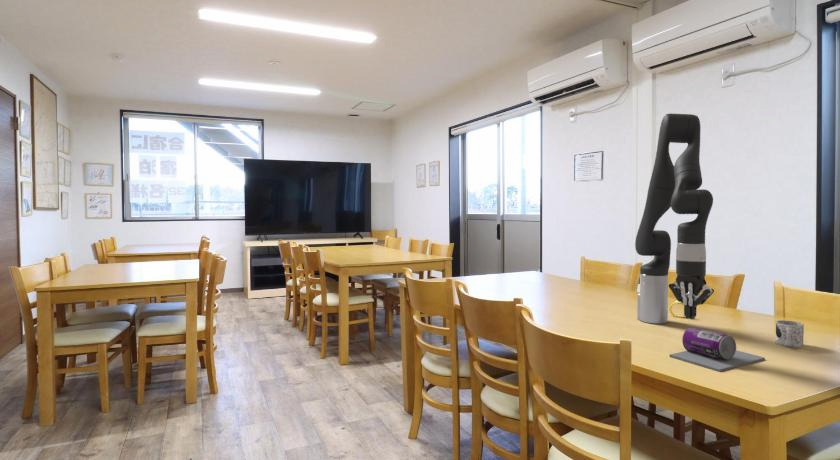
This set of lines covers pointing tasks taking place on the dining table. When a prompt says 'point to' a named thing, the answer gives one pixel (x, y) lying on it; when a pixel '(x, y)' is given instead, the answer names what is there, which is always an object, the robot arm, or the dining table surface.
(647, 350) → the dining table surface
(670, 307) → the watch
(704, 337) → the beverage can
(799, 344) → the mug
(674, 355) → the mat
